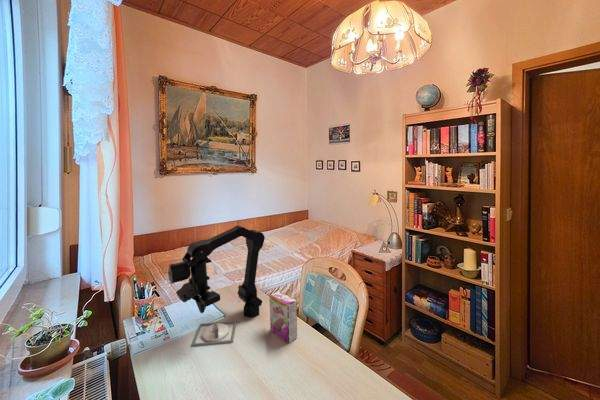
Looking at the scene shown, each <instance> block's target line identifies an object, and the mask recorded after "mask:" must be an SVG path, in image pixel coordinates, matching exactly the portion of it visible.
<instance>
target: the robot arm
mask: <svg viewBox="0 0 600 400" xmlns="http://www.w3.org/2000/svg"><path fill="white" fill-rule="evenodd" d="M241 237H243V238H245V244H246V248H247V255H246V261H245V262H246V263H245V269H244V271H245V272H244V279H243V283H242V284H239V285H238V287H237V288H238V290H237V292H236V293H237V295H238V298H239V299H240V301H242V302H243V303H244V305H243V317H244V318H245V317H247V318H252V319H253V318H256V317H257V316H260V306H262V304H263V300H262V299H261V298H259V297H258V289H257V286H256V276H257V270H258V260H259V255H260V250H261V249H262V248H263V247H264V246H263V245H264V243H265V237H266V236H265V235H264V233H263V232H260V231H258V230H256V229H248V228H246V227H244V226H242V225H235V226H234V227H232V228H230V229H227V230H225V231H223V232H221V233H219V234H217V235H215V236H213V237H211V238H207V239H201V240H197V241H194V242H191V243H190V244H189V245H188V246H187V251H186V253H185V254H184V256H183V258H182V259H181V261H179V262H177V263H176V262H175V263H170V264H168V271H167V275H168V280H169V282H170V285H172V284H175V283H179V282H182V281H185V280H188V282H186V283H183V285H182V286H181V288H178V290H177V291H175V294H176V295H177V297H178V299H179V300H180V301H181V302H182V303H186V302H188V301H191V300H194V301H195V304H196V306H197V308H198V311H199V313H200V314H203V313H205V310H206V308H207V307H209V306H211V305H213V304H216V303H218V302H220V301H221V294H220V293H218V292H216V291H214V290H212V291H210V290H211V286H209V283H208V282H209V280H210V276H209V275H208V272H207V271H208V270H207V264H208V263H212V259H211V258H209V257H208V256H210V255H211V254H212V253H213V252H214V251H215V250H216V249H218V248H220V247H222V246H224V245H226V244H228V243H230V242H232V241H234V240H237V239H238V238H241Z"/></svg>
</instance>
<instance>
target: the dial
mask: <svg viewBox="0 0 600 400" xmlns="http://www.w3.org/2000/svg"><path fill="white" fill-rule="evenodd" d="M201 334H202V336H201V337H202V340H204V341H206V342H215V341H223V340H224V339H225V338H226V337H227V336H228V335H229V326H228V324H222V323H217V324H212V325H210V326H205V328H204V329H203V330H202V333H201Z"/></svg>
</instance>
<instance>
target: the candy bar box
mask: <svg viewBox="0 0 600 400" xmlns="http://www.w3.org/2000/svg"><path fill="white" fill-rule="evenodd" d="M297 305H298V303H297V300H296V299H294V298H292V297H291V296H289V295H287V294H284V293H283V292H281V291H280V290H277V291H275V292H273V293H270V295H269V315H270V316H269V319H270V320H269V321H270V332H271V333H273V334H274V335H275V336H277V337H278V338H280V339H282V340H283V341H285V342H286V343H287V344H290V343H292V342H293V341H294V340H296V339H298V314H297V313H298V312H297V311H298V306H297ZM291 341H292V342H291Z"/></svg>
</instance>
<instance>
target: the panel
mask: <svg viewBox="0 0 600 400" xmlns="http://www.w3.org/2000/svg"><path fill="white" fill-rule="evenodd" d="M217 323H222V324H225V325H229V324H232V325H233V324H234V325H233V330H232V334H231V335H232V336H231V339H228V340H220V341H215V342H207V341H206V342H196V341H197V338H198V336H199V334H200V331H201V329H202V327H208V326H210V325H212V324H217ZM236 327H237V320H228V321H216V322H215V321H214V322H204V323H203V322H202V323H199V325H198V327H197V331H196V333H195V335H194V338H193V341H192V343H191V347H192V348H193V347H202V346H203V347H206V346H214V345H224V344H234V341H235V340H234V338H235V334H236ZM200 336H201V337H203V336H202V333H201V334H200Z"/></svg>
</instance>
